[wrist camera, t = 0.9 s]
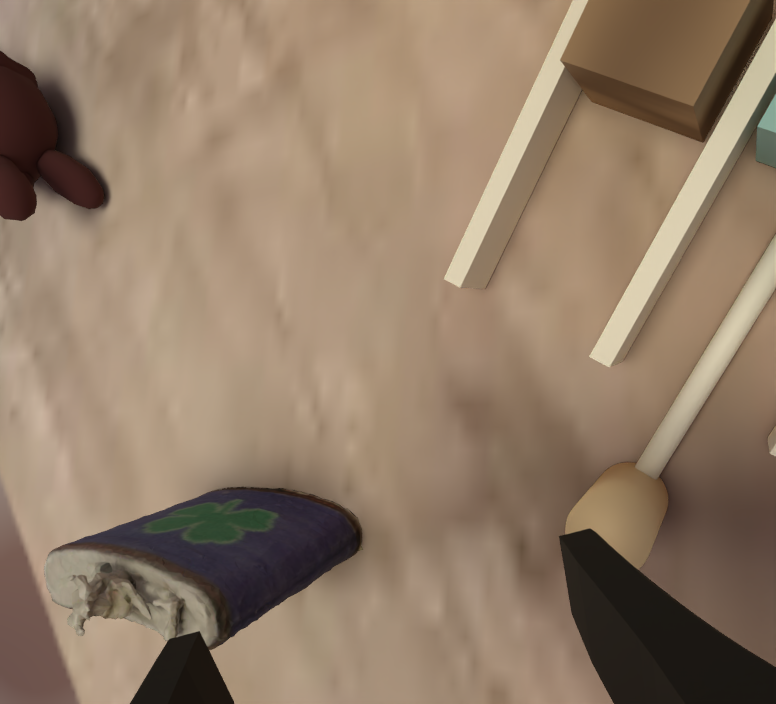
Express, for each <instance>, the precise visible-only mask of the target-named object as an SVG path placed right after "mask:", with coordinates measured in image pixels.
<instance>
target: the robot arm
mask: <svg viewBox="0 0 776 704" xmlns="http://www.w3.org/2000/svg"><path fill="white" fill-rule="evenodd" d="M559 539H560V545H561V551H562V557H563V563H564V569H565V575H566V581H567V587H568V594H569V600H570V606H571V612H572V615H573V618H574V620H575V623H576V625H577V628H578V630H579V632H580V635H581V637H582V640H583V642H584V645H585V647H586V649H587V652H588V654H589V656H590V659H591V661H592V664H593V665H594V667H595V669H596V671H597V673H598V675H599V677H600V679H601V680H602V682H603V684H604V686H605V688H606V690H607V692H608V693H609V695H610V697H611V699H612V701H613V703H614V704H776V667H774V666H773V665H771V664H769V663H768V662H766V661H765V660H763V659H761V658H760V657H758V656H756V655H755V654H753V653H751V652H750V651H748V650H747V649H745V648H743V647H742V646H740V645H739V644H737V643H736V642H734V641H733V640H731V639H730V638H728V637H727V636H725V635H724V634H722V633H721V632H719V631H718V630H716V629H715V628H714V627H712V626H711V625H709V624H708V623H706V622H705V621H704V620H702V619H701V618H699V617H698V616H696V615H695V614H694V613H692V612H691V611H690V610H688V609H687V608H686V607H684V606H683V605H682V604H680V603H679V602H678V601H676V600H675V599H674V598H673V597H671V596H670V595H669V594H667V593H666V592H665V591H664V590H662V589H661V588H660V587H658V586H657V585H656V584H655V583H653V582H652V581H651V580H650V579H648V578H647V577H646V576H645V575H644V574H642V573H641V572H640V571H639V570H638V569H636V568H635V567H634V566H633V565H632V564H631V563H629V562H628V561H627V560H626V559H625V558H624V557H623V556H621V555H620V554H619V553H618V552H617V551H616V550H615V549H614V548H612V547H611V546H610V545H609V544H608V543H607V542H606V541H605V540H604V539H603V538H602V537H601V536H600V535H599V534H597V533H596V532H595V531H593V530H592V529H590V528H589V529H585V530H581V531H577V532H573V533H570V534H566V535H562V536H559ZM130 704H234V701H233V699H232V697H231V695H230V693H229V691H228V689H227V687H226V685H225V683H224V680H223V678H222V676H221V674H220V672H219V670H218V668H217V666H216V664H215V662H214V660H213V658H212V656H211V653H210V651H209V649H208V647H207V645H206V643H205V641H204V639H203V637H202V635H201V633H200V631H198V632H194V633H190V634H186V635H182V636H179V637H175V638H171V639H169V640H168V642H167V644H166V645H165V647H164V648H163V650H162V652H161V653H160V655H159V656H158V658H157V660H156V661H155V663H154V665H153V666H152V668H151V669H150V671H149V673H148V674H147V676H146V678H145V679H144V681H143V683H142V684H141V686H140V688H139V689H138V691H137V693H136V694H135V696H134V698H133V699H132V701H131V703H130Z"/></svg>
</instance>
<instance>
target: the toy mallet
mask: <svg viewBox="0 0 776 704" xmlns="http://www.w3.org/2000/svg"><path fill="white" fill-rule="evenodd" d="M756 161H758V162H761V163H764V164H766V165H769V166H772V167H775V168H776V94H775V96H774V98H773V100H772V101H771V103H770V105H769V107H768V108H767V110H766V112H765V114H764V115H763V117H762V119H761V121H760V123H759V124H758V126H757V143H756ZM775 289H776V234H775V236H774V237H773V239H772V241H771V242H770V244H769V246H768V247H767V249H766V251H765V252H764V254H763V256H762V257H761V259H760V261H759V262H758V264H757V266H756V267H755V269H754V270H753V272H752V274H751V275H750V277H749V279H748V280H747V282H746V284H745V285H744V287H743V289H742V290H741V292H740V294H739V295H738V297H737V299H736V300H735V302H734V303H733V305H732V307H731V308H730V310H729V312H728V313H727V315H726V317H725V318H724V320H723V322H722V323H721V325H720V327H719V328H718V330H717V332H716V333H715V335H714V336H713V338H712V340H711V341H710V343H709V345H708V346H707V348H706V350H705V351H704V353H703V355H702V356H701V358H700V360H699V361H698V363H697V365H696V366H695V368H694V369H693V371H692V373H691V374H690V376H689V378H688V379H687V381H686V383H685V384H684V386H683V388H682V389H681V391H680V393H679V394H678V396H677V398H676V399H675V401H674V402H673V404H672V406H671V407H670V409H669V411H668V412H667V414H666V416H665V417H664V419H663V421H662V422H661V424H660V426H659V427H658V429H657V431H656V432H655V434H654V435H653V437H652V439H651V440H650V442H649V444H648V445H647V447H646V449H645V450H644V452H643V454H642V455H641V457H640V459H639V460H638V462H637V463H630V462H627V463H619V464H616V465H614V466H612V467H610V468H608V469H607V470H606V471H605V472H604V473H603V474H602V475H601V476H600V477H599V478H598V480H597V481H596V482H595V483H594V484H593V485H592V487H591V488H590V489H589V490H588V491H587V492H586V493H585V495H584V496H583V497H582V498H581V499H580V500H579V502H578V503H577V504H576V505H575V506H574V507H573V509H572V510H571V511H570V513H569V515H568V517H567V521H566V526H565V534H570V533H573V532H577V531H581V530H585V529H589V528H590V529H592V530H593V531H595V532H596V533H597V534H599V535H600V536H601V537H602V538H603V539H604V540H605V541H606V542H607V543H608V544H609V545H610V546H611V547H612V548H614V549H615V550H616V551H617V552H618V553H619V554H620V555H621V556H623V557H624V558H625V559H626V560H627V561H628V562H629V563H631V564H632V565H633V566H634V567H635V568H636V569H639V568H641V567H642V566H643V564H644V563H645V562H646V560H647V558H648V556H649V554H650V551H651V549H652V546H653V544H654V541H655V539H656V536H657V534H658V531H659V529H660V526H661V524H662V521H663V519H664V516H665V514H666V511H667V508H668V493H667V489H666V487H665V485H664V483H663V481H662V480H661V479H660V477H659V475H660V474H661V472H662V471H663V469H664V467H665V466H666V464H667V462H668V461H669V459H670V458H671V456H672V454H673V453H674V451H675V450H676V448H677V446H678V445H679V443H680V442H681V440H682V438H683V437H684V435H685V434H686V432H687V430H688V429H689V427H690V425H691V424H692V422H693V421H694V419H695V417H696V416H697V414H698V413H699V411H700V409H701V408H702V406H703V405H704V403H705V401H706V400H707V398H708V397H709V395H710V393H711V392H712V390H713V388H714V387H715V385H716V384H717V382H718V380H719V379H720V377H721V376H722V374H723V372H724V371H725V369H726V368H727V366H728V364H729V363H730V361H731V360H732V358H733V356H734V355H735V353H736V351H737V350H738V348H739V347H740V345H741V343H742V342H743V340H744V339H745V337H746V335H747V334H748V332H749V331H750V329H751V327H752V326H753V324H754V323H755V321H756V319H757V318H758V316H759V314H760V313H761V311H762V310H763V308H764V306H765V305H766V303H767V302H768V300H769V298H770V297H771V295H772V294H773V292H774V290H775Z"/></svg>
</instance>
